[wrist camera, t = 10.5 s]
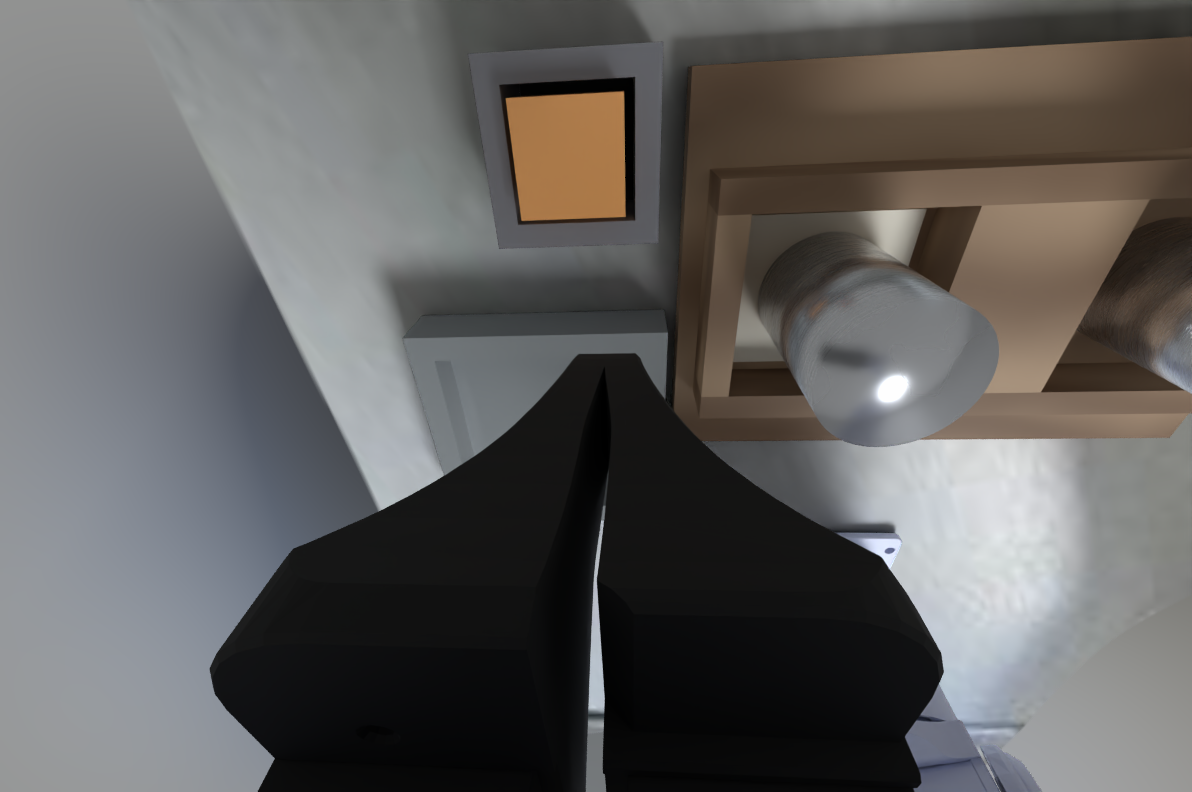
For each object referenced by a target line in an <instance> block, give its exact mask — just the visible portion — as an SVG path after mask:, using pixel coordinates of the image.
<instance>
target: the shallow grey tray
mask: <svg viewBox="0 0 1192 792" xmlns="http://www.w3.org/2000/svg"><path fill="white" fill-rule="evenodd" d="M402 339H403V342H404V345H405V349H406V352H407V355H408V359H409V362H410V365H411V368H412V372H413V375H414V378H415V382H416V385H417V388H418V391H419V395H420V398H421V401H422V404H423V408H424V411H425V414H426V418H427V421H428V424H429V427H430V431H431V434H432V437H433V441H434V444H435V447H436V450H437V454H438V457H439V460H440V464H441V467H442V470H443V473H444V475H446V474H448V473H449V472H451V471H452V470H454V469H455V468H457V467H458V466H460V465H461V464H463V463H464V462H466V461H468V460H469V459H471V458H472V457H474V456H475V455H477V454H478V453H480V452H481V451H482V450H484V449H485V448H486V447H488V446H489V445H490V444H491V443H493V442H494V441H495V440H497V439H498V438H499V437H500V436H502V435H503V434H504V433H505V432H507V431H508V430H509V429H510V428H511V427H512V426H513V425H514V424H515V423H516V422H517V421H518V420H519V419H521V418H522V417H523V416H524V415H525V414H526V413H527V412H528V411H529V410H530V409H531V408H532V407H533V406H534V405H535V404H536V403H537V402H538V401H539V399H540V398H541V397H542V396H543V395H544V394H545V393H546V392H547V390H548V389H549V388H550V387H551V386H552V385H553V384H554V383H555V381H556V380H557V379H558V378H559V376H560V375H561V374H562V373H563V372H564V370H565V369H566V368H567V366H568V365H569V364H570V363H571V361H572V360H573V359H574V358H575V357H576V356H577V355H578V354H612V353H636V354H637V355H638V356H639V357H640V358H641V361H642V363H643V366H644V368H645V369H646V371H647V373H648V375H649V376H650V378H651V380H652V381H653V383H654V384H655V386H656V387H657V389H658V390H659V392H660V393H661V394H662V396H663V397H664V399H665V392H666V368H667V343H668V330H667V325H666V319H665V314H664V310H629V311H590V312H550V313H511V314H472V315H432V316H421V318H420V319H419V320H418V321H417V322H416V323H415V324H414V326H413V327H412V328H411V329H410V330H409V331H408V333H407V334H406V335H405V336H404V337H403V338H402ZM608 473H609V471H608ZM607 486H608V475H607V483H606V490H605V497H604V504H603V511H602V517H601V520H604V517H605V507H606V496H607Z"/></svg>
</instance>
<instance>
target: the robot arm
mask: <svg viewBox="0 0 1192 792" xmlns="http://www.w3.org/2000/svg"><path fill="white" fill-rule="evenodd" d="M608 471H609V473H608ZM607 475H608V486H607V496H606V507H605V517H604V527H603V535H602V544H601V552H600V561H599V568H598V576H597V589H598V604H599V619H600V634H601V649H602V663H603V678H604V693H605V709H604V739H603V740H604V741H603V774H605V780H606V792H1000V791H1001V792H1042V791H1041V789H1040V788H1039V786H1038V784H1037V783H1036V781H1035V780H1034V778H1033V777H1032V775H1031V774H1030V772H1029V771H1028V770H1027V768H1026V767H1025V765H1024V764H1023V763H1022V762H1021V761H1020V760H1018V759H1016V758H1015V757H1013V756H1011V755H1010V754H1008V753H1006V752H1003V751H1002V750H1001V749H1000V747H999V746H997V745H995V744H989V745H983V746H980V748H981V750H982V752H983V754H984V757H985V759H986V761H987V763H988V765H989V767H990V769H991V771H992V773H993V775H994V777H995V781H996V783H997V785H998V787H999V789H1000V791H999V789H998V787H997V785H996V784H995V782H994V780H993V778H992V776H991V775H990V773H989V771H988V769H987V767H986V765H985V764H984V762H983V760H982V758H981V756H980V754H979V752H978V750H977V749H976V747H975V745H974V743H973V741H972V739H971V737H970V735H969V733H968V732H967V730H966V728H965V726H964V724H963V722H962V721H960V720H957V718H956V716H955V714H954V712H953V710H952V708H951V706H950V704H949V703H948V701H947V699H946V697H945V695H944V693H943V691H942V689H941V687H940V685H939V682H940V680H941V678H942V675H943V673H944V670H943V663H942V656H941V652H940V650H939V649H938V647H937V645H936V643H935V641H934V640H933V638H932V636H931V634H930V632H929V631H928V629H927V627H926V625H925V623H924V622H923V620H922V618H921V616H920V614H919V613H918V611H917V609H916V608H915V606H914V604H913V603H912V601H911V600H910V598H909V596H908V595H907V593H906V592H905V590H904V589H903V587H902V586H901V585H900V583H899V582H898V580H897V579H896V577H895V576H894V575H893V573H892V572H891V570H890V568H891V566H892V564H893V562H894V559H895V557H896V555H897V553H898V551H899V549H900V547H901V545H902V540H901V539H900V537H899V535H897V534H895V533H835V532H833V531H831V530H829V529H827V528H825V527H823V526H821V525H819V524H817V523H815V522H813V521H812V520H810V519H808V518H806V517H805V516H803V515H801V514H800V513H798V512H797V511H795V510H793V509H792V508H790V507H788V506H787V505H785V504H783V503H782V502H780V501H779V500H777V499H775V498H774V497H772V496H771V495H769V494H768V493H766V492H765V491H763V490H762V489H760V488H759V487H757V486H756V485H754V484H753V483H752V482H750V481H749V480H748V479H746V478H745V477H744V476H742V475H741V474H740V473H738V472H737V471H736V470H734V469H733V468H732V467H730V466H729V465H728V464H726V463H725V462H724V461H723V460H721V459H720V458H719V457H718V456H717V455H716V454H714V453H713V452H712V451H711V450H710V449H709V448H708V447H707V446H706V445H705V444H704V443H703V442H702V441H701V440H700V439H699V438H698V437H697V436H696V435H695V434H694V433H693V432H692V431H691V430H690V429H689V428H688V427H687V426H686V424H685V423H684V422H683V421H682V420H681V419H680V418H679V416H678V415H677V414H676V413H675V412H674V410H673V409H672V408H671V407H670V405H669V404H668V403H667V401H666V400H665V399H664V397H663V396H662V394H661V393H660V392H659V390H658V389H657V387H656V386H655V384H654V383H653V381H652V380H651V378H650V376H649V375H648V373H647V371H646V369H645V368H644V366H643V363H642V361H641V358H640V357H639V356H638V355H637V354H636V353H612V354H578V355H577V356H576V357H575V358H574V359H573V360H572V361H571V363H570V364H569V365H568V366H567V368H566V369H565V370H564V372H563V373H562V374H561V375H560V376H559V378H558V379H557V380H556V381H555V383H554V384H553V385H552V386H551V387H550V388H549V389H548V390H547V392H546V393H545V394H544V395H543V396H542V397H541V398H540V399H539V401H538V402H537V403H536V404H535V405H534V406H533V407H532V408H531V409H530V410H529V411H528V412H527V413H526V414H525V415H524V416H523V417H522V418H521V419H519V420H518V421H517V422H516V423H515V424H514V425H513V426H512V427H511V428H510V429H509V430H508V431H507V432H505V433H504V434H503V435H502V436H500V437H499V438H498V439H497V440H495V441H494V442H493V443H491V444H490V445H489V446H488V447H486V448H485V449H484V450H482V451H481V452H480V453H478V454H477V455H475V456H474V457H472V458H471V459H469V460H468V461H466V462H464V463H463V464H461V465H460V466H458V467H457V468H455V469H454V470H452V471H451V472H449V473H448V474H446V475H444V476H443V477H441V478H440V479H438V480H437V481H435V482H433V483H431V484H430V485H428V486H426V487H424V488H423V489H421V490H419V491H417V492H415V493H414V494H412V495H410V496H408V497H406V498H404V499H402V500H400V501H398V502H396V503H395V504H393V505H391V506H389V507H387V508H385V509H383V510H381V511H379V512H377V513H375V514H372V515H370V516H368V517H366V518H364V519H362V520H359V521H357V522H355V523H353V524H350V525H348V526H346V527H343V528H341V529H339V530H337V531H334V532H332V533H330V534H327V535H325V536H323V537H321V538H318V539H316V540H314V541H311V542H309V543H307V544H304V545H302V546H299V547H297V548H294V549H293V550H292V551H291V552H290V553H289V555H288V556H287V557H286V559H285V560H284V561H283V563H282V564H281V565H280V567H279V568H278V569H277V571H276V572H275V573H274V575H273V576H272V578H271V579H270V580H269V582H268V583H267V584H266V586H265V587H264V589H263V590H262V591H261V593H260V594H259V596H258V597H257V598H256V600H255V601H254V602H253V604H252V605H251V607H250V608H249V609H248V611H247V612H246V614H245V615H244V616H243V618H242V619H241V621H240V622H239V623H238V625H237V626H236V627H235V629H234V630H233V632H232V633H231V634H230V636H229V637H228V638H227V640H226V641H225V643H224V644H223V645H222V647H221V648H220V650H219V651H218V652H217V654H216V656H215V658H214V660H213V662H212V665H211V667H210V673H211V679H212V684H213V688H214V692H215V695H216V696H217V697H218V699H219V700H220V701H221V703H222V704H223V706H224V707H225V708H226V710H227V711H228V712H229V713H230V714H231V715H232V716H233V717H234V718H235V719H236V720H237V721H238V722H239V723H240V724H241V725H242V726H243V727H244V728H245V729H246V730H247V731H248V732H249V733H250V734H252V736H253V737H254V738H255V739H256V740H257V741H258V742H259V743H260V744H261V745H262V746H263V747H264V748H265V749H266V750H267V751H268V752H269V753H270V754H271V755H272V756H273V757H274V758H275V760H274V761H273V763H272V765H271V767H270V769H269V771H268V773H267V775H266V777H265V779H264V780H263V783H262V784H261V786H260V788H259V790H258V792H586V761H587V730H588V702H589V674H590V650H591V626H592V604H593V582H594V570H595V560H596V552H597V545H598V538H599V531H600V524H601V517H602V511H603V504H604V497H605V490H606V483H607Z"/></svg>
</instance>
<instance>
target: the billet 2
mask: <svg viewBox="0 0 1192 792" xmlns="http://www.w3.org/2000/svg"><path fill="white" fill-rule="evenodd" d="M1076 330H1077V331H1078V332H1079V333H1081V334H1083V335H1085V336H1087V337H1088V338H1090V339H1092V340H1094V341H1096V342H1098V343H1099V344H1101V345H1103V346H1105V347H1107V348H1109V349H1110V350H1112V351H1114V352H1116V353H1118V354H1120V355H1121V356H1123V357H1125V358H1127V359H1129V360H1131V361H1132V362H1134V363H1136V364H1138V365H1140V366H1142V367H1143V368H1145V369H1147V370H1149V371H1151V372H1153V373H1154V374H1156V375H1158V376H1160V377H1162V378H1164V379H1165V380H1167V381H1169V382H1171V383H1173V384H1175V385H1176V386H1178V387H1180V388H1182V389H1184V390H1186V391H1187V392H1189V393H1191V394H1192V217H1174V218H1168V219H1163V220H1159V221H1155V222H1152V223H1149V224H1147V225H1144V226H1142V227H1139V228H1137V229H1135V230H1133V231H1132V232H1131V234H1130V236H1129V237H1128V239H1127V241H1126V243H1125V245H1124V246H1123V248H1122V250H1121V252H1120V253H1119V255H1118V257H1117V259H1116V260H1115V262H1114V264H1113V266H1112V267H1111V269H1110V271H1109V273H1108V275H1107V276H1106V278H1105V280H1104V282H1103V283H1102V285H1101V287H1100V289H1099V290H1098V292H1097V294H1096V296H1095V298H1094V299H1093V301H1092V303H1091V305H1090V306H1089V308H1088V310H1087V312H1086V313H1085V315H1084V317H1083V319H1082V320H1081V322H1080V324H1079V326H1078V328H1077V329H1076Z"/></svg>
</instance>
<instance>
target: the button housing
mask: <svg viewBox="0 0 1192 792" xmlns="http://www.w3.org/2000/svg"><path fill="white" fill-rule="evenodd" d="M468 57H469V64H470V70H471V76H472V82H473V89H474V95H475V101H476V107H477V114H478V120H479V126H480V132H481V139H482V145H483V151H484V157H485V164H486V170H487V176H488V182H489V189H490V195H491V201H492V207H493V214H494V220H495V226H496V232H497V239H498V245H499V249H505V248H534V247H563V246H592V245H621V244H650V243H658V231H659V191H660V151H661V112H662V72H663V42H647V43H631V44H615V45H599V46H583V47H567V48H551V49H535V50H519V51H503V52H487V53H471V54H468ZM622 78H633V199H634V200H625V213H626V217H610V218H584V219H557V220H531V221H522V220H521V213H520V205H519V197H518V189H517V182H516V174H515V166H514V159H513V151H512V143H511V135H510V128H509V120H508V112H507V105H506V98H511V97H519V96H521V92H520V84H535V83H552V82H570V81H587V80H604V79H622Z"/></svg>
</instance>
